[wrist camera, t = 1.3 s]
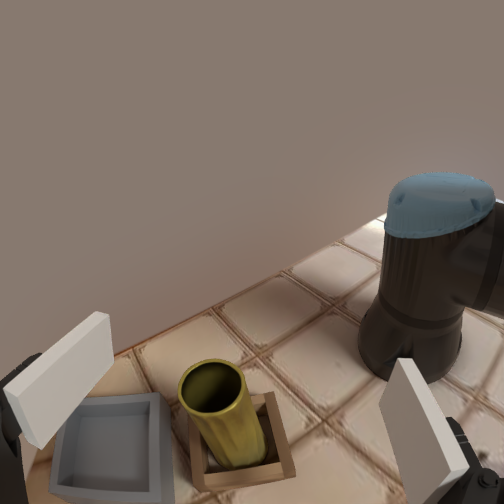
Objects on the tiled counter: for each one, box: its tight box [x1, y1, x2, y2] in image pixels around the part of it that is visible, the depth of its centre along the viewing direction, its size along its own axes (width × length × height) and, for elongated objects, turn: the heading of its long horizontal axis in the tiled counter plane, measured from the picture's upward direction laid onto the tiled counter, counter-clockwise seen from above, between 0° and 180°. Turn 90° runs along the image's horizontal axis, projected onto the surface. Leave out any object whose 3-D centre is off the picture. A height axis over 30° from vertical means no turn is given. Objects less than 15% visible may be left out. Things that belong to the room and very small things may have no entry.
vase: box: [178, 359, 268, 471], centre depth 25 cm, size 6×6×14 cm
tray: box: [48, 392, 175, 504], centre depth 27 cm, size 14×14×4 cm
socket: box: [187, 391, 296, 492], centre depth 28 cm, size 10×10×3 cm
